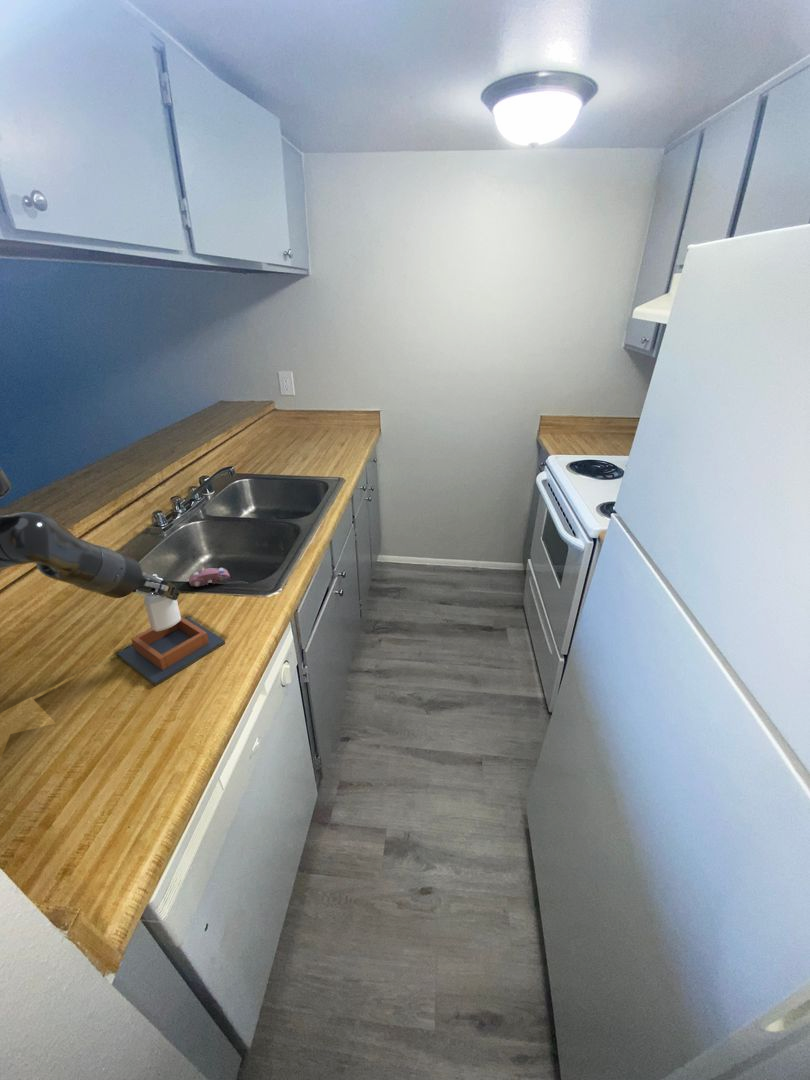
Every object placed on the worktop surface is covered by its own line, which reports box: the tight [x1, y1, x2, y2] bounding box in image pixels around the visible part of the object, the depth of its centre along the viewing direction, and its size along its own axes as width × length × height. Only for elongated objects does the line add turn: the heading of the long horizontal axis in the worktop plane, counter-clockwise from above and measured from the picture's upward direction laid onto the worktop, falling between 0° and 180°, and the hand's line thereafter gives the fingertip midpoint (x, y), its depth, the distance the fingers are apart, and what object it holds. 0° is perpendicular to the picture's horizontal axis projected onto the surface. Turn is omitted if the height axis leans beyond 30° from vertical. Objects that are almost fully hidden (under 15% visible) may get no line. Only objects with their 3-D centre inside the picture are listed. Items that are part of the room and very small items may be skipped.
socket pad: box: [116, 616, 226, 687], centre depth 100 cm, size 16×14×4 cm
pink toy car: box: [188, 567, 231, 588], centre depth 121 cm, size 10×5×7 cm, turn 114°
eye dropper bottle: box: [143, 573, 182, 631], centre depth 95 cm, size 4×6×12 cm
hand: (166, 593), depth 96 cm, fingers closed on eye dropper bottle, 4 cm apart
